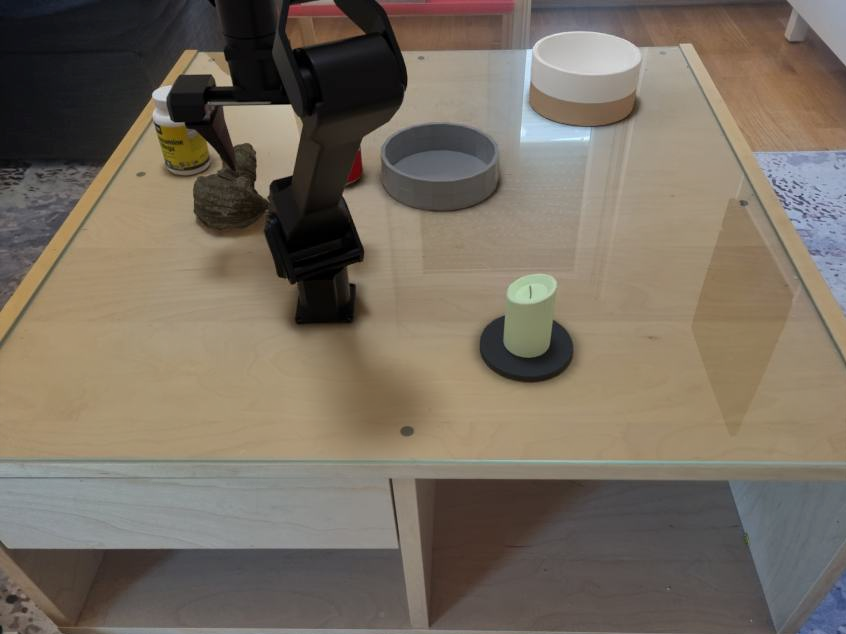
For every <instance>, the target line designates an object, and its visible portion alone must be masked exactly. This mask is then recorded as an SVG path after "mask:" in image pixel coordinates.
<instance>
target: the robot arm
mask: <svg viewBox="0 0 846 634" xmlns="http://www.w3.org/2000/svg"><path fill="white" fill-rule="evenodd" d="M207 1H208V2H209V3H210V5H211V6H212V7H213V8H216V14H217V17H218V22H219V23H218V24H219V27H220V31H221V38H222V41H223V50H222V51H223V55H224V56H223V57H224V60H225V61H226V62H227V66H228V70H229V75H230V80H231V85H223V86H222V85H221V86H220V85H219V86H217V81H216V79H215V77H214V76H213V74H211V73H206V74H205V73H204V74H202V73H201V74H200V73H199V74H179V75H178V76H177V77H176V79H175V80H174V82H173V83H172V87H171V89H170V91H169V93H168V95H167V97H166V103H167V109H168V112H169V116H170V120H171V121H173V122H175V123H181V122H185V127H186V128H187V129H194V130H196V131H197V132H198V133H199V134H200V135H201V136H202V137H203V138H204V139H205V140H206V142H207V144H209V145H210V146H211V147H212V148H213V150H214V151H215V152H216V153H217V154H218V156H219V157H220V156H221V158H222V159H223V160H224V161H225V163H226V164H227V165H228V166H229V168H230V169H231V170H232V171H233V172H235V171H237V167H238V166H237V160H236V155H235V151H234V148H233V147H234V145H233V142H232V139H231V138H232V137H231V135H230V132H229V129H228V126H227V123H226V119H225V111H224V107H240V106H241V107H242V106H244V107H246V106H291V108H292V110H293V112H294V113H295V115H296V117H298V118H300V121H301V123H302V127H301V132H300V136H299V142H298V147H297V152H296V156H295V162H294V167H293V172H292V175H291V174H290V175H288V176H284V177H280V178H277V179H273V180H272V181H271V182H270V184H269V185H268V187H269V192H268V195H267V196H266V199H267V200H268V201H269V204H268V210H267V213H266V214H265V213H264V218H263V219H264V222H263V226H264V228H263V229H262V230H263V231H262V232H263V235H264V237H265V238H264V239H265V240H266V244H267V246H268V249H269V253H270V255H271V259H272V261H273V265H274V270H275V273H276V276H277V278H279V279H284V280H287V282H288V283H289V285H290V286H292V285H293V286H294V285H296V288H297V292H298V294H297V300H296V301H297V302H296V308H295V314H294V323H295V324H296V325H323V324H351V323H353V322H354V320H355V311H356V310H355V309H356V295H357V286H356V283H352V282H350V280H349V279H350V278H349V271H348V267H349V266H352V265H354V264H360V263H363V262H364V261H365V249H364V245H363V243H362V240H361V238H360V235H359V233H358V230H357V227H356V224H355V221H354V219H353V217H352V214H351V211H350V208H349V206H348V203H347V201H346V199H345V197H344V196H343V194H344V192H345V189H346V186H347V185H346V183H347V181H348V178H349V175H350V172H351V169H352V167H353V164H354V161H355V158H356V156H357V153H358V150H359V147H360V145H361V144H362V141H363V139H364V138H365V137H366V136H368V135H370V134H371V133H373V132H375V131H376V130H377V129H380V128H381V127H383V126H385V125H386V124H388V123H389V122H390V121H391V120H392V119H393V117H394V116H395V115H396V114H397V112H398V111H399V110H400V109H401V106H402V104H403V102H404V99H405V92H406V91H407V88H408V79H409V77H408V70H407V65H406V61H405V58H404V56H403V53H402V51H401V48H400V45H399V42H398V39H397V37H396V34H395V31H394V29H393V26H392V24H391V21H390V19H389V16H388V13H387V12H386V9H385V8H384V7H383V6H382V5H381V4H380V3H379V2H378V1H377V0H332V1H333V3H334V5H335V6H336V8H338V9H339V10H340V11H341V12H342V13H343V14H344V15H345V16H346V17H347V18H349V20H350V21H351V22H353V23H354V24H355V26H357V27H358V28H359V29H360V30H361V31H362V32H363V33H364V34H359V35H355V36H350V37H349V36H348V37H344V38H340V39H333V40H329V41H324V42H320V43H315V44H310V45H304V46H299V47H295V48H293V49H292V44H291V43H292V41H291V39H290V38H288V35H287V32H286V28H287V22H288V16H289V12H290V7H291V6H295V5H301V4H306V3H312V2H318V1H320V0H207ZM221 158H220V159H221Z"/></svg>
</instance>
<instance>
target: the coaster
mask: <svg viewBox="0 0 846 634" xmlns="http://www.w3.org/2000/svg"><path fill="white" fill-rule="evenodd" d="M504 324H505V314H504V315H501V316H499V317H497V318H495V319H494V320H492V321H490V322H489V323H488V324H487V325H486V326H485V327H484V329H483V331H482V332H481V335H480V338H479V352H480V356H481V358H482V360H483V362H484V363H486V366H488V367H489V368H490V369H491V370H492V371H494V372H495V373H497V374H498V375H500V376H501V377H505V378H507V379H511V380H514V381H520V382H540V381H544V380H547V379H548V380H549V379H551V378H553V377H555V376H557V375H559V374H560V373H561V372H563V371H564V370H565V369H566V368H567V367H568V365H569V364H570V362H571V360H572V358H573V353H574V343H573V339H572V337H571V335H570V333H569V331H568V330H567V329H566V328H565V327H564V326H563V325H561V323H559V322H557V321H556V320H555V319H553V323H552V331H551V339H550V346H549V348H548V350H547V351H546V352H545V353H543V354H542V355H540V356H537V357H530V358H526V357H520V356H516V355H514V354H512V353H511V352H510V351H508V350H507V349H506V347H505V346H504V342H503V339H504Z"/></svg>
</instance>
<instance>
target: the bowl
mask: <svg viewBox="0 0 846 634" xmlns="http://www.w3.org/2000/svg"><path fill="white" fill-rule="evenodd" d="M642 62H643V55H642V51H641V50H640V49H639V48H638V47H637V46H636V45H635V44H634V43H632V42H630V41H629V40H626V39H624V38H622V37H618V36H616V35H612V34H609V33H604V32H596V31H587V30H586V31H585V30H575V31H573V30H572V31H562V32H558V33H553V34H549V35H547V36H544V37H542V38H540V39H539V40H537V42H535V44H534V45H533V47H532V51H531V63H530V77H529V79H530V80H529V94H528V101H529V104H530V106H531V108H532V109H533V110H534V111H535V112H536V113H537V114H539V115H540V116H542V117H543V118H544V117H545V118H546V119H549V120H550V121H553V122H557V123H561V124H565V125H570V126H577V127H578V126H580V127H597V126H605V125H609V124H614V123H616V122H617V123H618V122H619V121H622V120H624V119H625V118H627V117H628V115H630V114H631V112H632V111H633V108H634V105H635V99H636V95H637V94H636V93H637V88H638V84H639V79H640V72H641V67H642Z"/></svg>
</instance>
